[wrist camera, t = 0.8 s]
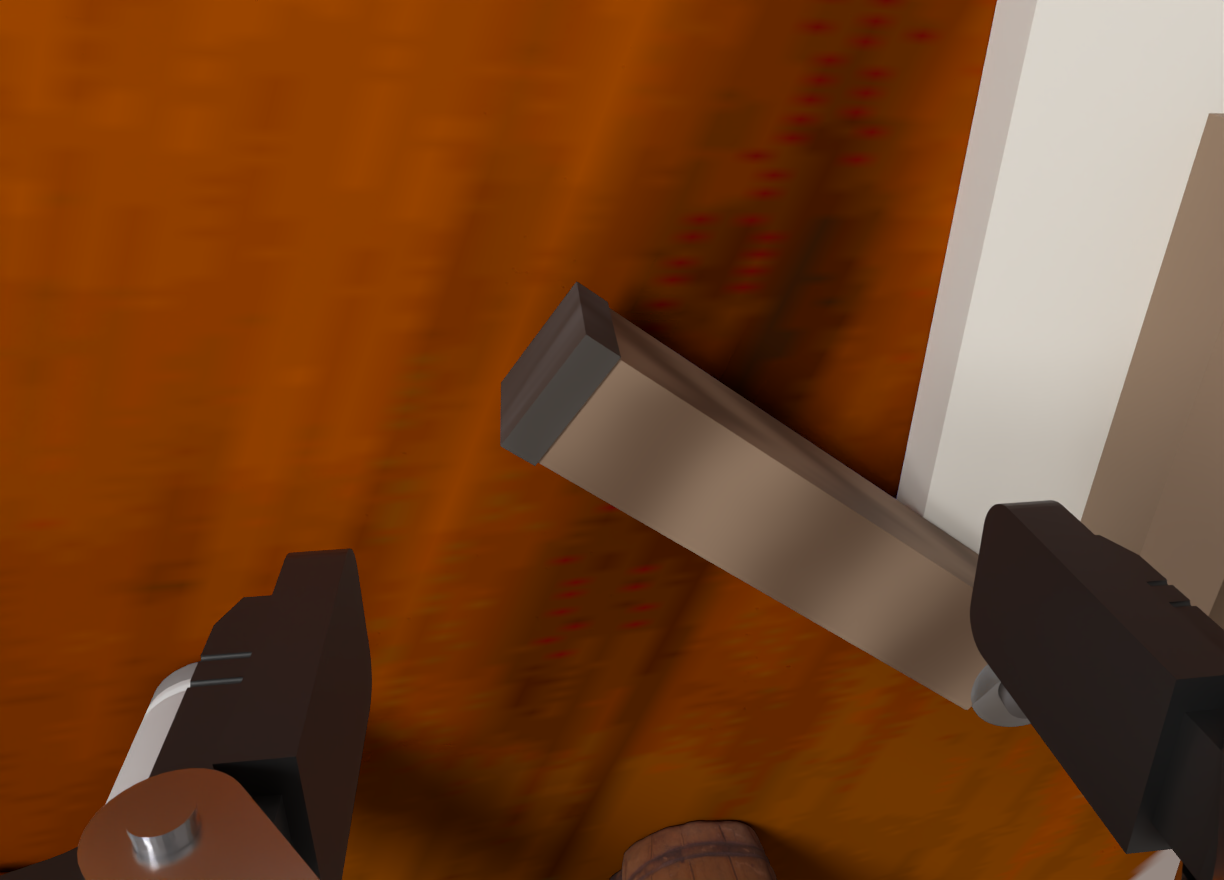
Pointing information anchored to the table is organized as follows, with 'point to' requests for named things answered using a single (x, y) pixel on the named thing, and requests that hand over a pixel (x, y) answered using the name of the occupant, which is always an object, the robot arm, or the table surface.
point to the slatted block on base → (1087, 288)
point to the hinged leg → (747, 496)
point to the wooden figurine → (698, 854)
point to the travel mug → (153, 730)
